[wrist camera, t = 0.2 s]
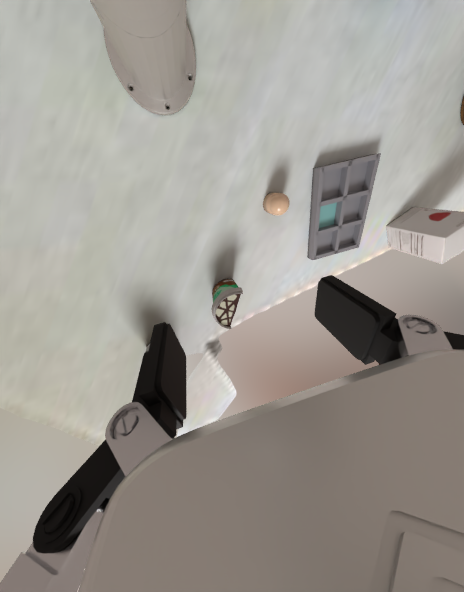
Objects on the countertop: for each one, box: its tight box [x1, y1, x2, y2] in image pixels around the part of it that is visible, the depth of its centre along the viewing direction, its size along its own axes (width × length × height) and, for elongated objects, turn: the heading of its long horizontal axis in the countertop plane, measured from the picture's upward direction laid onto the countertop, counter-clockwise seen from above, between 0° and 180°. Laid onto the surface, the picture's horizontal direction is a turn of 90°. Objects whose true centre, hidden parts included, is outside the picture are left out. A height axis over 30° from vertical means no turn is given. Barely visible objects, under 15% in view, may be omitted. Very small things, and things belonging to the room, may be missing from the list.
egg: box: [263, 193, 289, 215], centre depth 39 cm, size 4×4×6 cm
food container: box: [212, 279, 243, 329], centre depth 48 cm, size 12×6×10 cm, turn 165°
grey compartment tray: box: [308, 153, 381, 260], centre depth 46 cm, size 22×15×2 cm
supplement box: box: [386, 207, 464, 264], centre depth 48 cm, size 9×9×15 cm
